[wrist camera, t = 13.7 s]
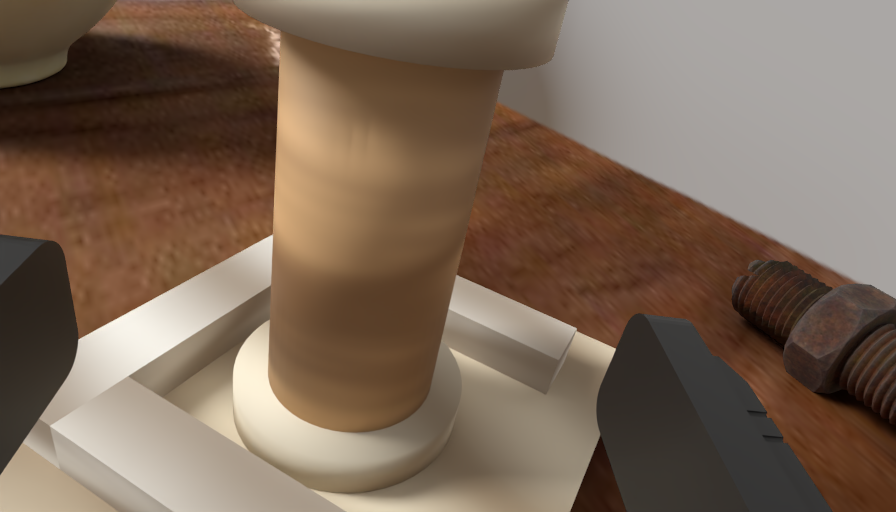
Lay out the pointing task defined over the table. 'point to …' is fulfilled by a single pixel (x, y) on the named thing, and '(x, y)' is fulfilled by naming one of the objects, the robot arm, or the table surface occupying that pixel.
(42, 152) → the table surface
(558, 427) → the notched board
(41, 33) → the pitcher
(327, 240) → the bobbin
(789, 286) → the bolt
